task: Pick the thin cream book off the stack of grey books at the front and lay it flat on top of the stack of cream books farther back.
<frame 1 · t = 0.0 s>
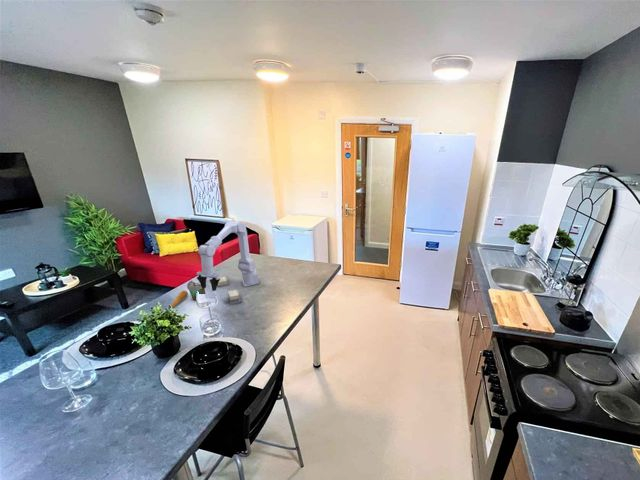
hand: (209, 289, 165), 11 cm above the table, tool pointing down, fingers open, 7 cm apart
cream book: (234, 296, 175), point 3 cm above the table, touching grey stack
cream stack: (222, 282, 196), on the table
food container: (196, 299, 176), on the table
grey stack: (234, 300, 176), on the table
carrot: (176, 303, 170), on the table
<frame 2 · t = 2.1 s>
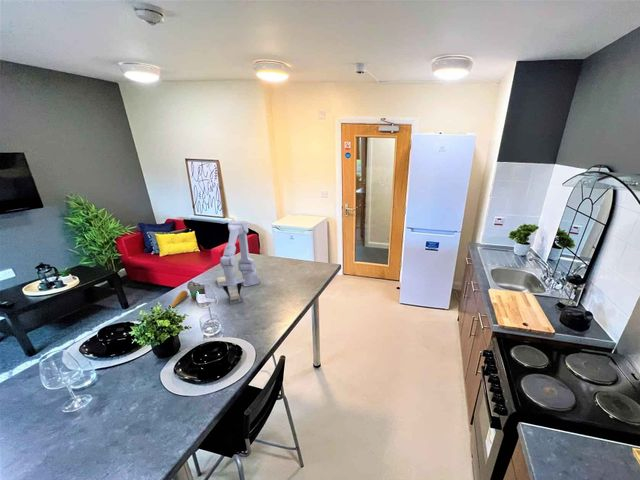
hand: (234, 295, 174), 3 cm above the table, tool pointing down, fingers closed on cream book, 5 cm apart
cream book: (234, 296, 175), point 3 cm above the table, touching grey stack, gripper
everything else where it was.
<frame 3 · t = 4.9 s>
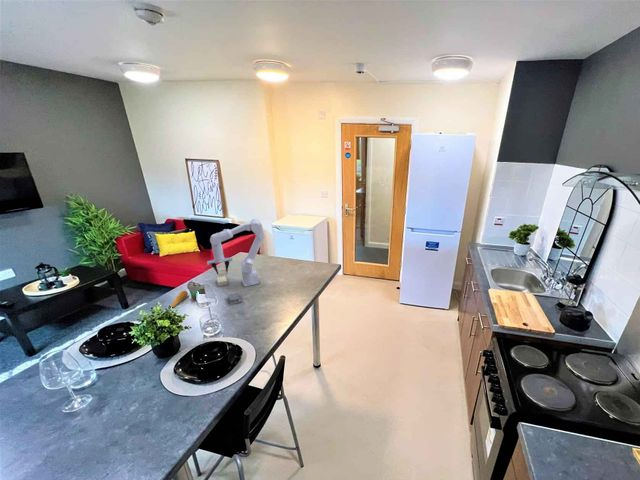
hand: (222, 272, 188), 10 cm above the table, tool pointing down, fingers closed on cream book, 5 cm apart
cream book: (222, 273, 188), point 10 cm above the table, touching gripper
everything else where it was.
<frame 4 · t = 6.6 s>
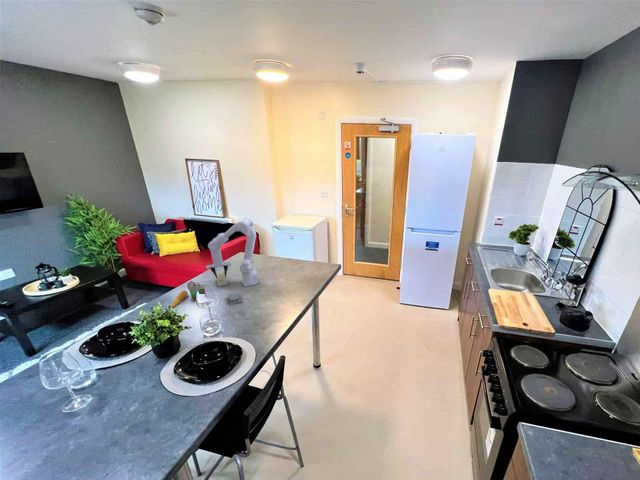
hand: (221, 276, 195), 5 cm above the table, tool pointing down, fingers closed on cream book, 5 cm apart
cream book: (221, 277, 195), point 4 cm above the table, touching gripper
everything else where it was.
when the fingers open (3 cm above the table, at t = 7.6 s): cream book stays where it is, resting on cream stack.
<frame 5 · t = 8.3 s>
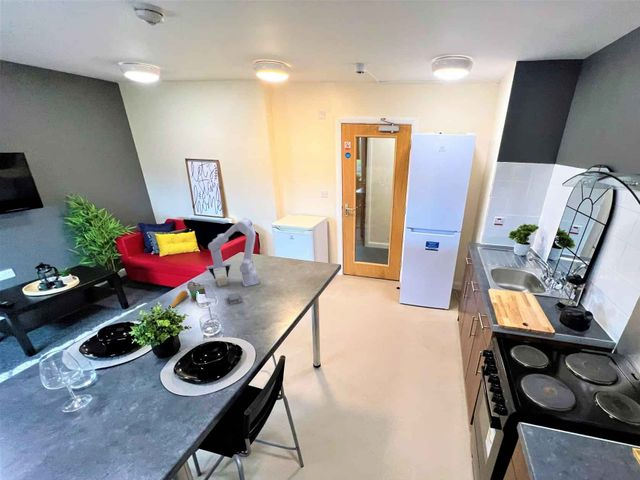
hand: (221, 277, 195), 4 cm above the table, tool pointing down, fingers open, 7 cm apart
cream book: (221, 279, 195), point 3 cm above the table, touching cream stack
everything else where it was.
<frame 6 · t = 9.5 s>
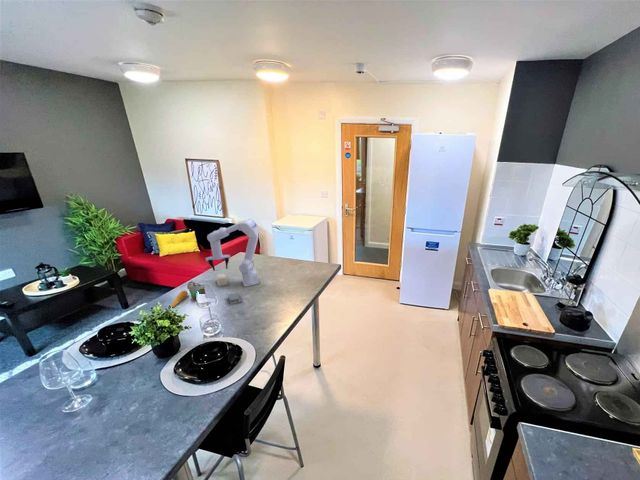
hand: (220, 269, 194), 9 cm above the table, tool pointing down, fingers open, 7 cm apart
nothing on the table moved.
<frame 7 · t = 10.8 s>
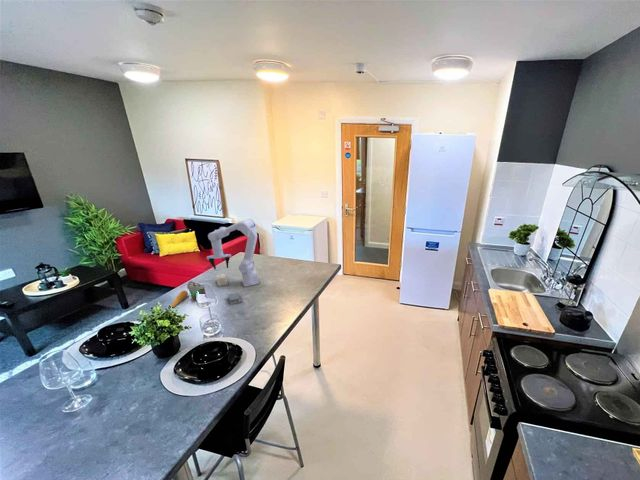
hand: (221, 268, 196), 9 cm above the table, tool pointing down, fingers open, 7 cm apart
nothing on the table moved.
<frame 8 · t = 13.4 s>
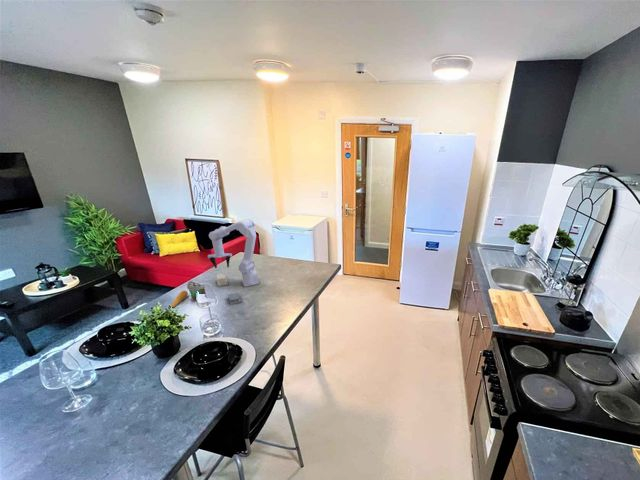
hand: (222, 267, 197), 9 cm above the table, tool pointing down, fingers open, 7 cm apart
nothing on the table moved.
at the end: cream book 0.0 cm off-centre on the cream stack, point 2.8 cm above the cream stack's base; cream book tilted 0°; the gripper is holding nothing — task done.
